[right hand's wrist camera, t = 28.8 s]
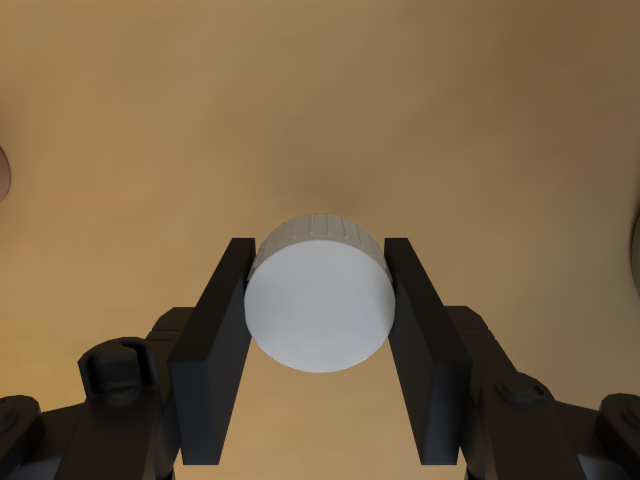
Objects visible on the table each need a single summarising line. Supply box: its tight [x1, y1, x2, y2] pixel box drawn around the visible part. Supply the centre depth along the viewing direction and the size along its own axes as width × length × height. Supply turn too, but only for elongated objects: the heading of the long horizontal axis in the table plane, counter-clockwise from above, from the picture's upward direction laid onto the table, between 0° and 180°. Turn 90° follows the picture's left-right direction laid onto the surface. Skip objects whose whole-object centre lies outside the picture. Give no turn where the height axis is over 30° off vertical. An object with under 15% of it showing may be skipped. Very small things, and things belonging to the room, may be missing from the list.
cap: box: [244, 213, 395, 373], centre depth 13 cm, size 4×4×2 cm
